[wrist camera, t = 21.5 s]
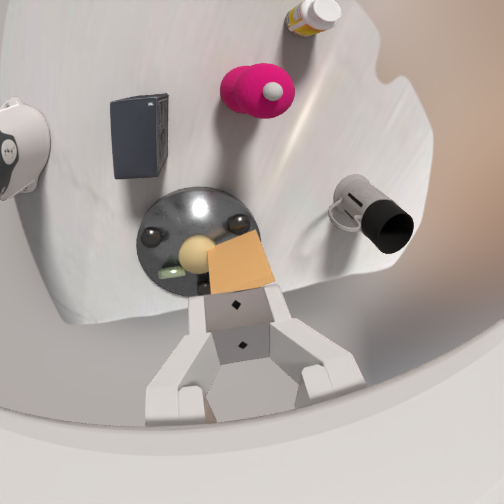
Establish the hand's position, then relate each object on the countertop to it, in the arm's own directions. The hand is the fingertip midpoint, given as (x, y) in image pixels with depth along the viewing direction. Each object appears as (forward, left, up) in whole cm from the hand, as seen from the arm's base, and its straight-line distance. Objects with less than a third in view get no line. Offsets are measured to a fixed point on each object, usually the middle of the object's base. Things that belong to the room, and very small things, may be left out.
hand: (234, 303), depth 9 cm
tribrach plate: (-4, -21, -37) cm, 43 cm away
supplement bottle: (+16, +18, -37) cm, 44 cm away
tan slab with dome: (0, -20, -35) cm, 40 cm away
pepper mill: (+6, +6, -37) cm, 38 cm away
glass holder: (+24, -14, -37) cm, 47 cm away
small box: (-9, +2, -37) cm, 39 cm away
